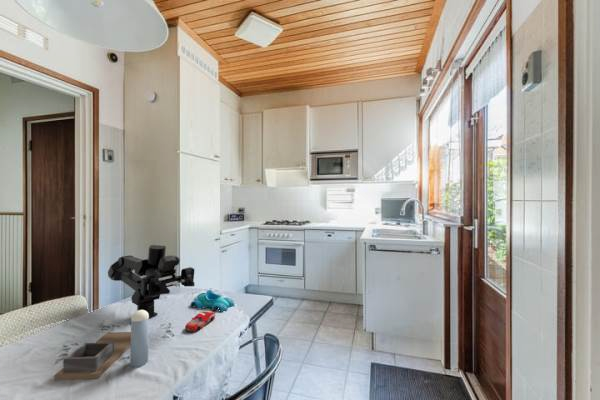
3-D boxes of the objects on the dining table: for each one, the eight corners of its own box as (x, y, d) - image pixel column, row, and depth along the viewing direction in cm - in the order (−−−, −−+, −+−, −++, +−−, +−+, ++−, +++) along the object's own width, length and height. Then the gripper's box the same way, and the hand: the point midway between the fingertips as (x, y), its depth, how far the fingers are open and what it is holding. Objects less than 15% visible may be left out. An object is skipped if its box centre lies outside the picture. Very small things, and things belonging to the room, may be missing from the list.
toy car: (203, 299, 126) (204, 285, 126) (237, 304, 121) (237, 289, 121) (187, 307, 116) (188, 292, 116) (223, 314, 111) (223, 298, 110)
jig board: (107, 335, 91) (107, 322, 91) (141, 335, 92) (141, 321, 92) (53, 379, 69) (54, 361, 69) (98, 378, 70) (99, 360, 70)
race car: (194, 335, 93) (194, 324, 93) (181, 332, 95) (182, 321, 95) (217, 319, 106) (217, 309, 105) (206, 316, 107) (206, 307, 107)
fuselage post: (126, 364, 76) (128, 311, 76) (142, 356, 80) (143, 306, 79) (135, 369, 74) (136, 315, 73) (151, 361, 77) (152, 309, 77)
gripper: (134, 258, 92) (156, 271, 83) (183, 250, 107) (207, 260, 99) (131, 289, 93) (153, 305, 84) (181, 276, 108) (204, 289, 99)
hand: (182, 288), depth 92 cm, fingers open, 9 cm apart
